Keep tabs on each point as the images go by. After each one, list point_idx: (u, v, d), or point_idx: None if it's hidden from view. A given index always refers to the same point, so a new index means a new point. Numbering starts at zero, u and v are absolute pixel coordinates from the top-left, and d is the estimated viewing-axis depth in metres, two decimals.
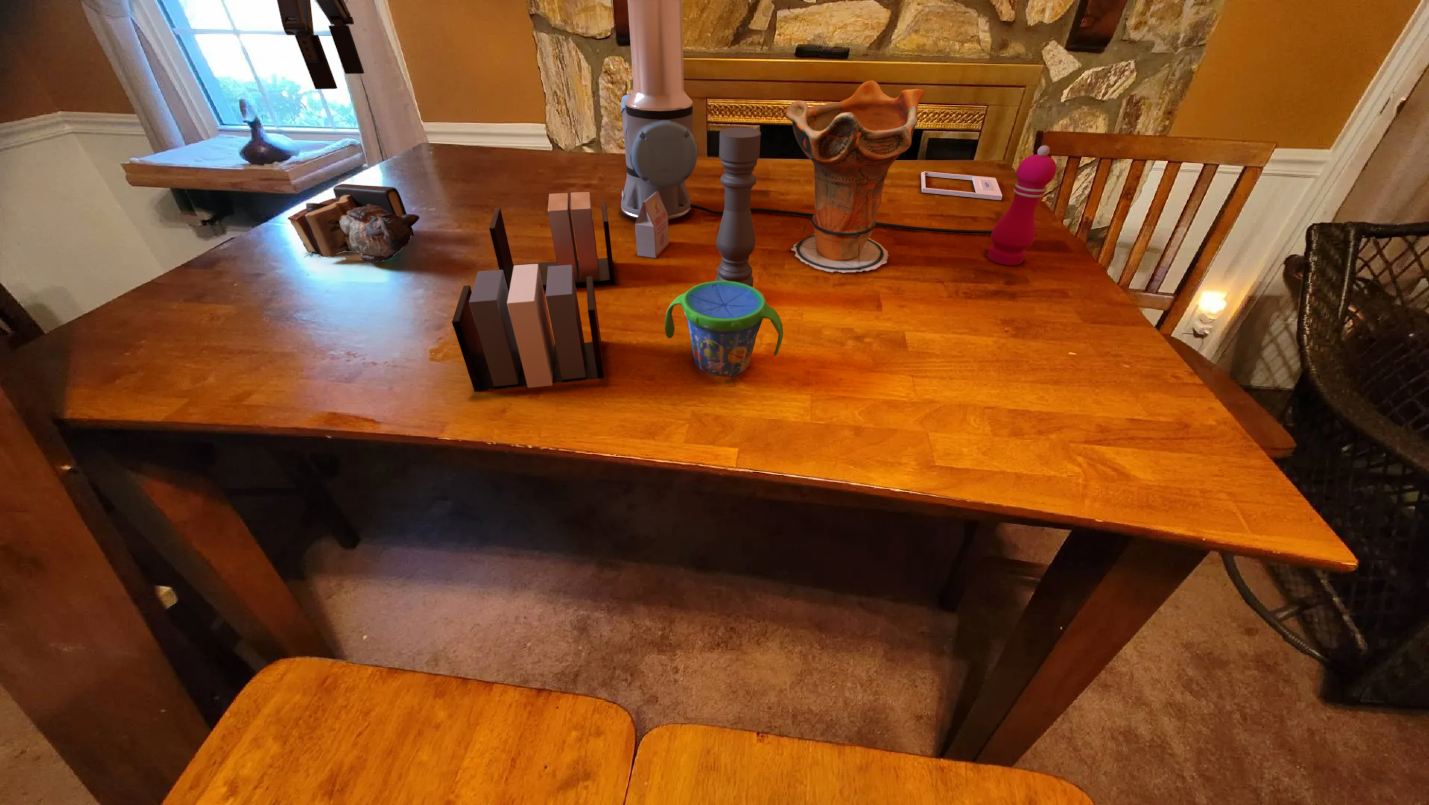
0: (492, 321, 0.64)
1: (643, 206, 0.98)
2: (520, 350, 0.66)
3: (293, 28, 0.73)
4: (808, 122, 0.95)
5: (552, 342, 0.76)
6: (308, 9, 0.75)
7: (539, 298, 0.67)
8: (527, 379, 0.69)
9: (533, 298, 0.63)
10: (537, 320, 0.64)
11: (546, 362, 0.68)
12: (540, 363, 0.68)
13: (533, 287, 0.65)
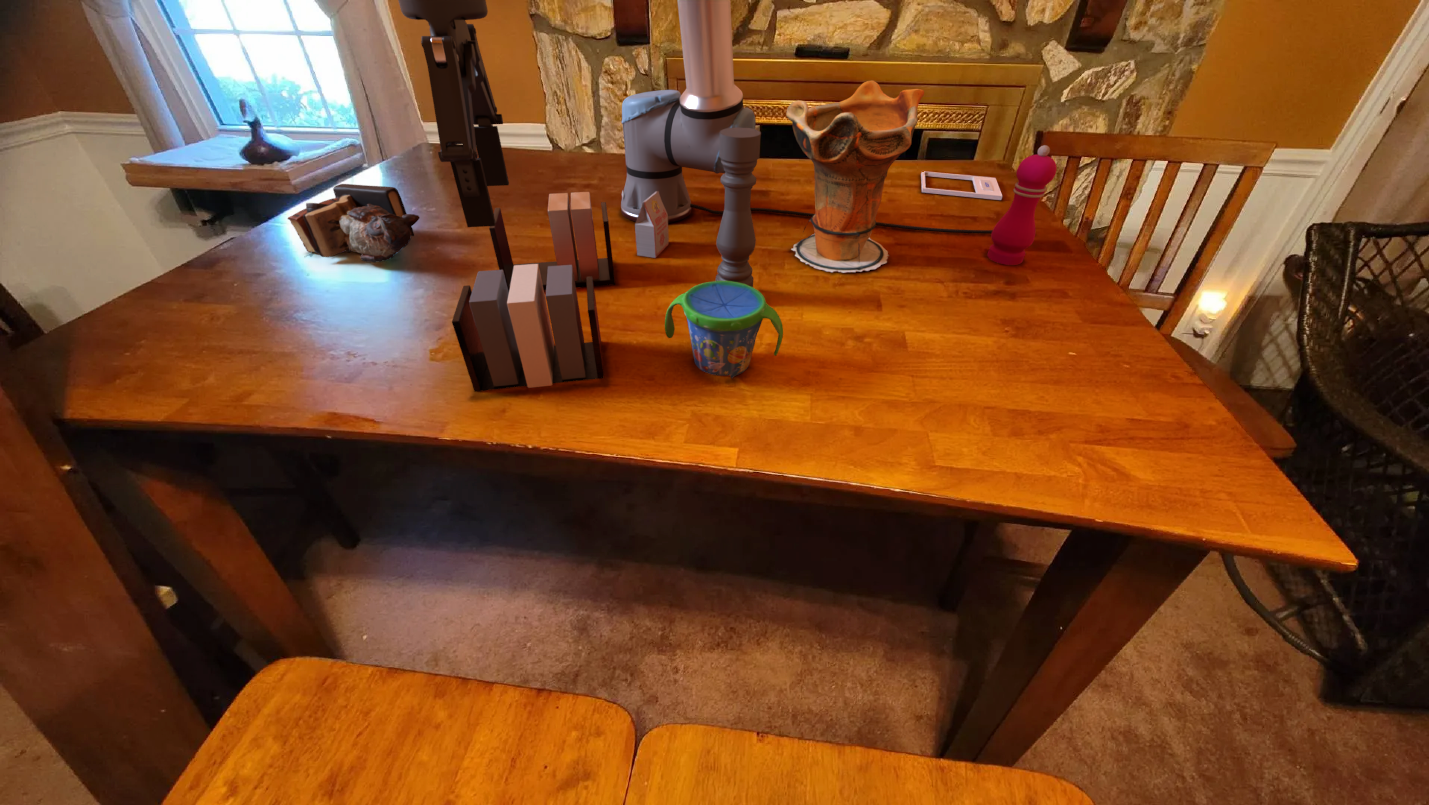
0: (492, 321, 0.64)
1: (643, 206, 0.98)
2: (520, 350, 0.66)
3: (455, 157, 0.50)
4: (808, 122, 0.95)
5: (552, 342, 0.76)
6: (471, 125, 0.52)
7: (539, 298, 0.67)
8: (527, 379, 0.69)
9: (533, 298, 0.63)
10: (537, 320, 0.64)
11: (546, 362, 0.68)
12: (540, 363, 0.68)
13: (533, 287, 0.65)
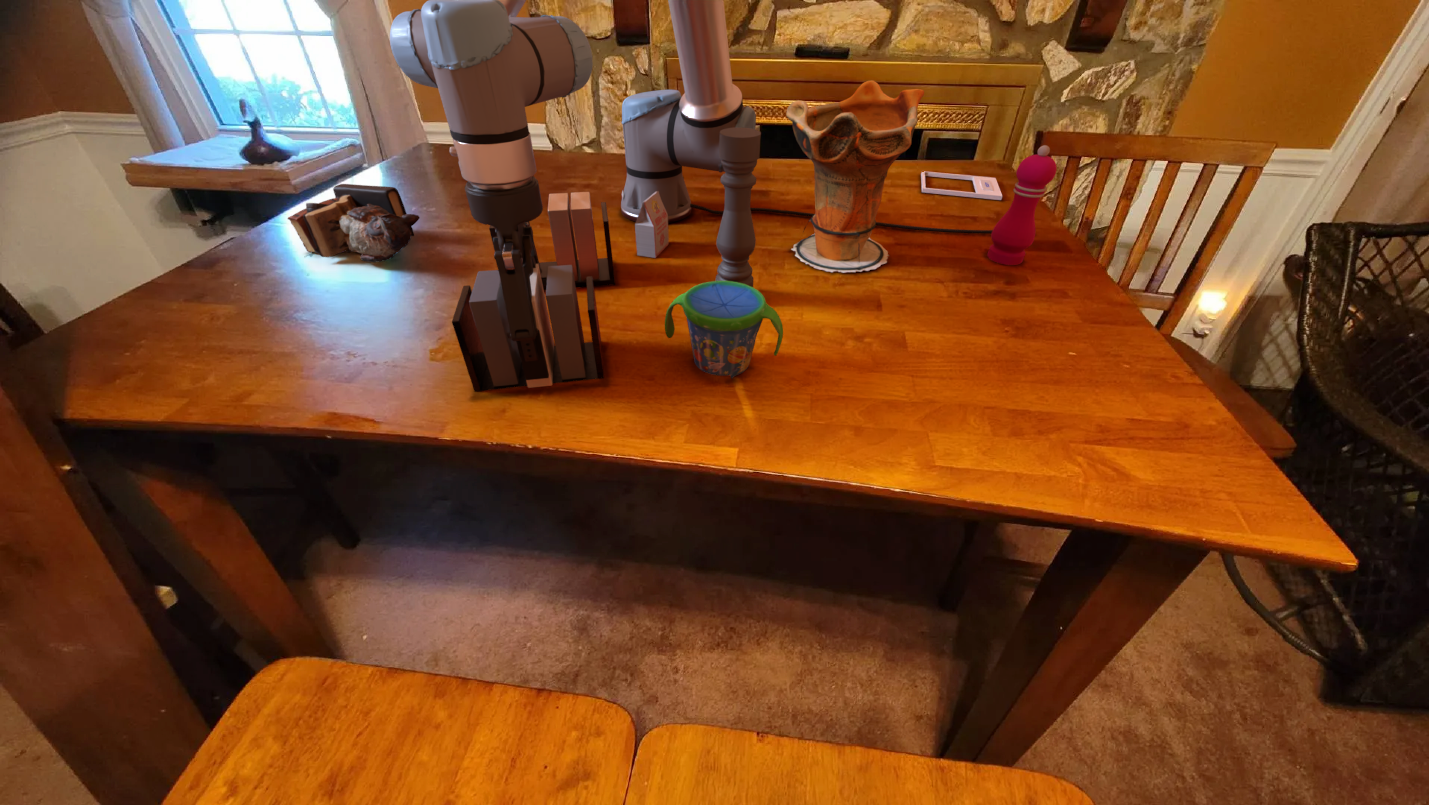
0: (492, 321, 0.64)
1: (643, 206, 0.98)
2: None
3: (522, 339, 0.61)
4: (808, 122, 0.95)
5: (552, 342, 0.76)
6: (532, 307, 0.63)
7: (539, 298, 0.67)
8: None
9: (533, 298, 0.63)
10: (537, 320, 0.64)
11: (546, 362, 0.68)
12: None
13: (533, 287, 0.65)
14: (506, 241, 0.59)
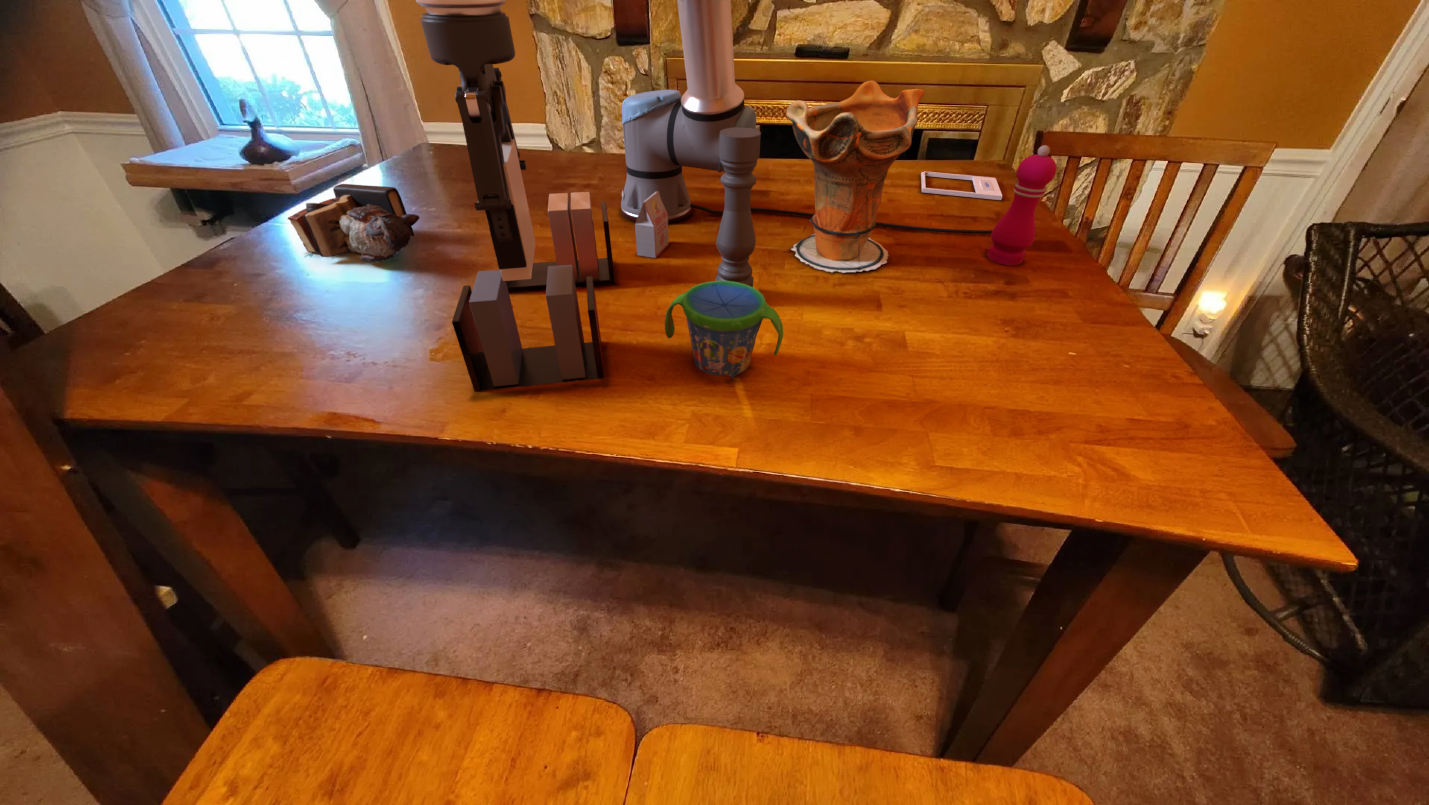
0: (492, 321, 0.64)
1: (643, 206, 0.98)
2: None
3: (492, 207, 0.52)
4: (808, 122, 0.95)
5: (533, 238, 0.67)
6: (504, 174, 0.54)
7: (514, 173, 0.58)
8: (502, 269, 0.60)
9: (505, 164, 0.54)
10: (511, 192, 0.55)
11: (523, 248, 0.59)
12: None
13: (506, 155, 0.56)
14: (470, 85, 0.50)
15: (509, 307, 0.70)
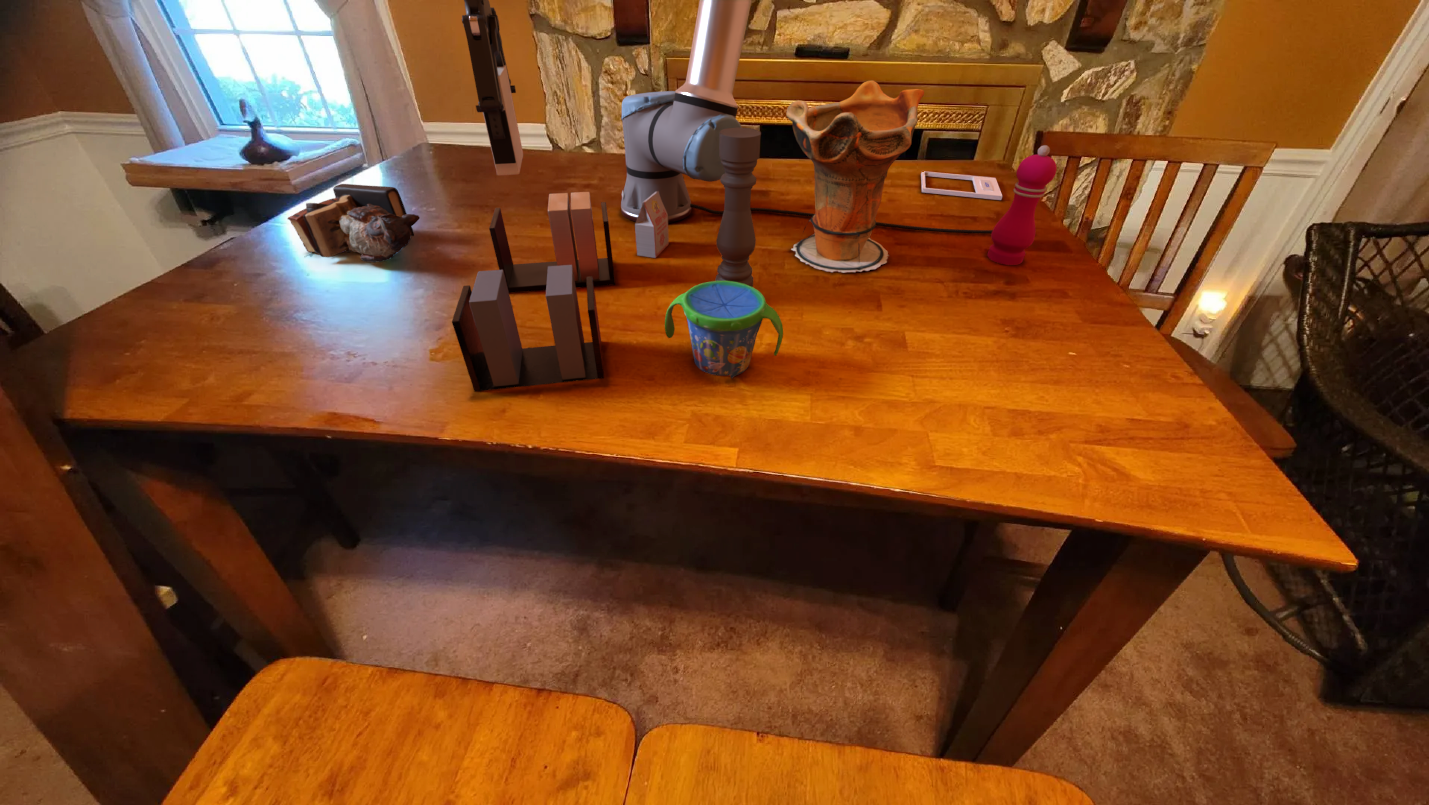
0: (492, 321, 0.64)
1: (643, 206, 0.98)
2: None
3: (489, 107, 0.69)
4: (808, 122, 0.95)
5: (521, 149, 0.84)
6: (498, 84, 0.71)
7: (506, 88, 0.75)
8: (496, 164, 0.77)
9: (498, 76, 0.71)
10: (503, 99, 0.72)
11: (513, 147, 0.76)
12: None
13: (499, 72, 0.73)
14: (473, 13, 0.67)
15: (509, 307, 0.70)
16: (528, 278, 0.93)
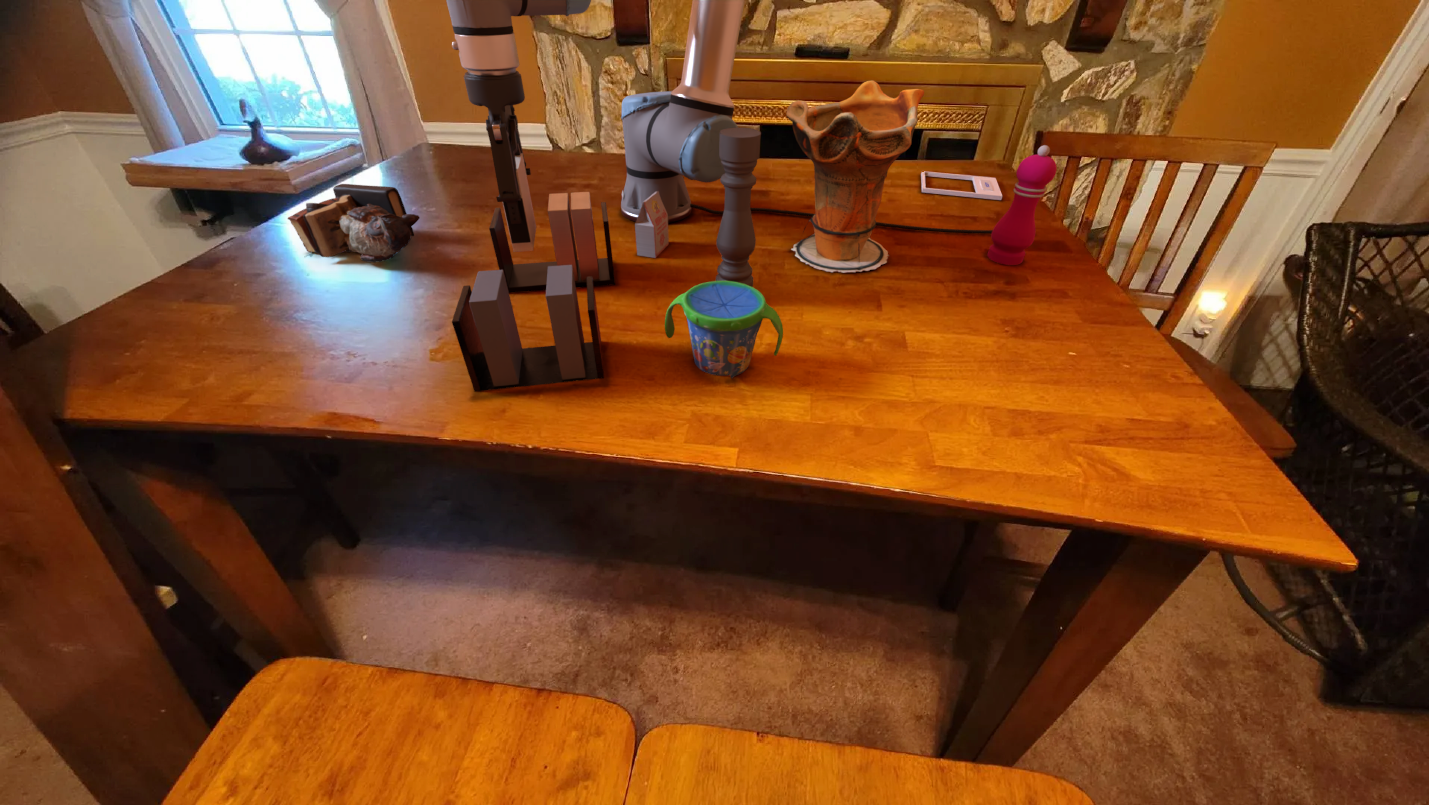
0: (492, 321, 0.64)
1: (643, 206, 0.98)
2: None
3: (508, 199, 0.78)
4: (808, 122, 0.95)
5: (534, 223, 0.93)
6: (516, 177, 0.80)
7: (522, 177, 0.84)
8: (513, 243, 0.86)
9: (517, 170, 0.80)
10: (520, 189, 0.81)
11: (528, 228, 0.85)
12: None
13: (517, 164, 0.82)
14: (495, 119, 0.76)
15: (509, 307, 0.70)
16: (528, 278, 0.93)
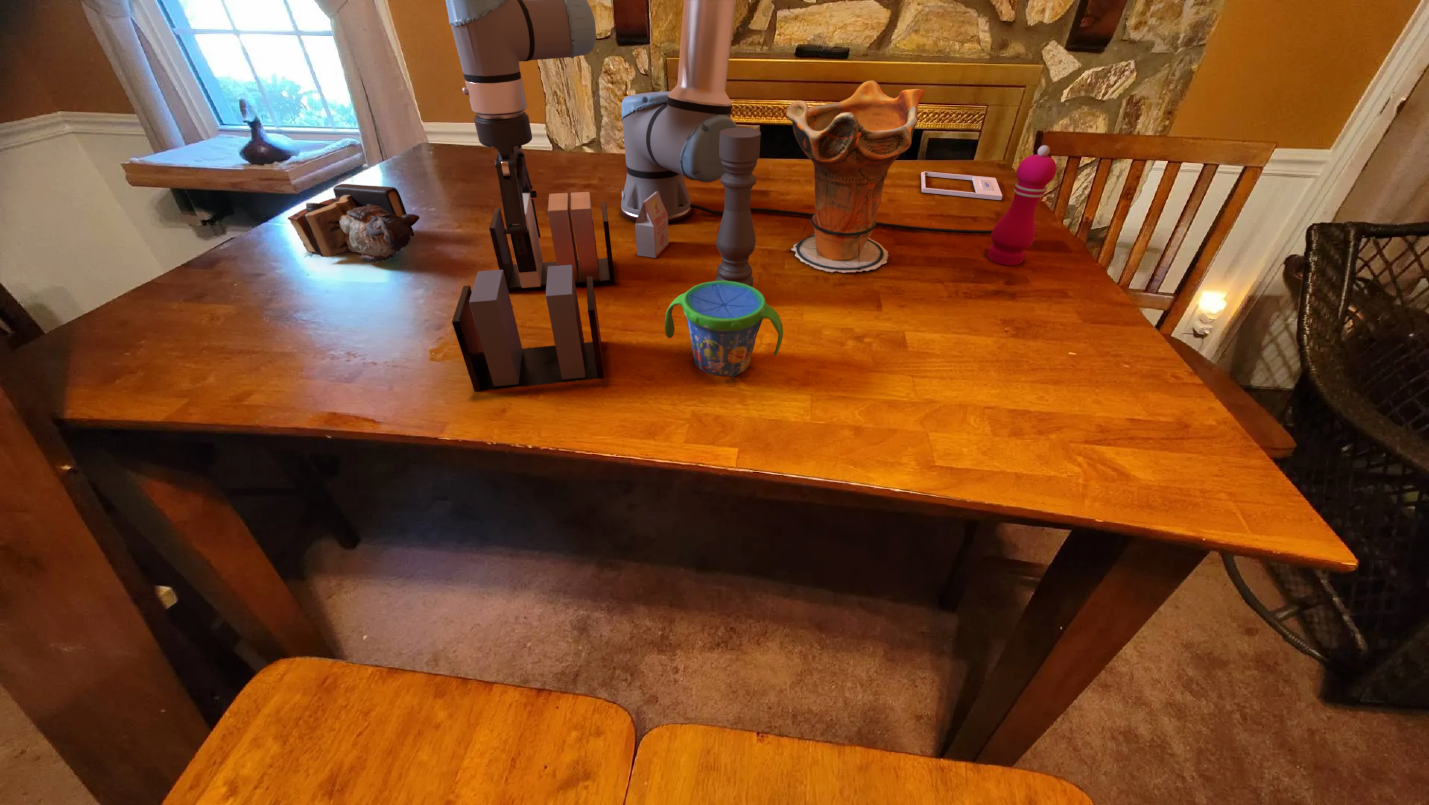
0: (492, 321, 0.64)
1: (643, 206, 0.98)
2: None
3: (515, 232, 0.80)
4: (808, 122, 0.95)
5: (541, 258, 0.96)
6: (523, 210, 0.82)
7: (530, 217, 0.88)
8: (521, 280, 0.90)
9: (525, 212, 0.84)
10: None
11: None
12: None
13: (525, 206, 0.86)
14: (504, 158, 0.79)
15: (509, 307, 0.70)
16: None
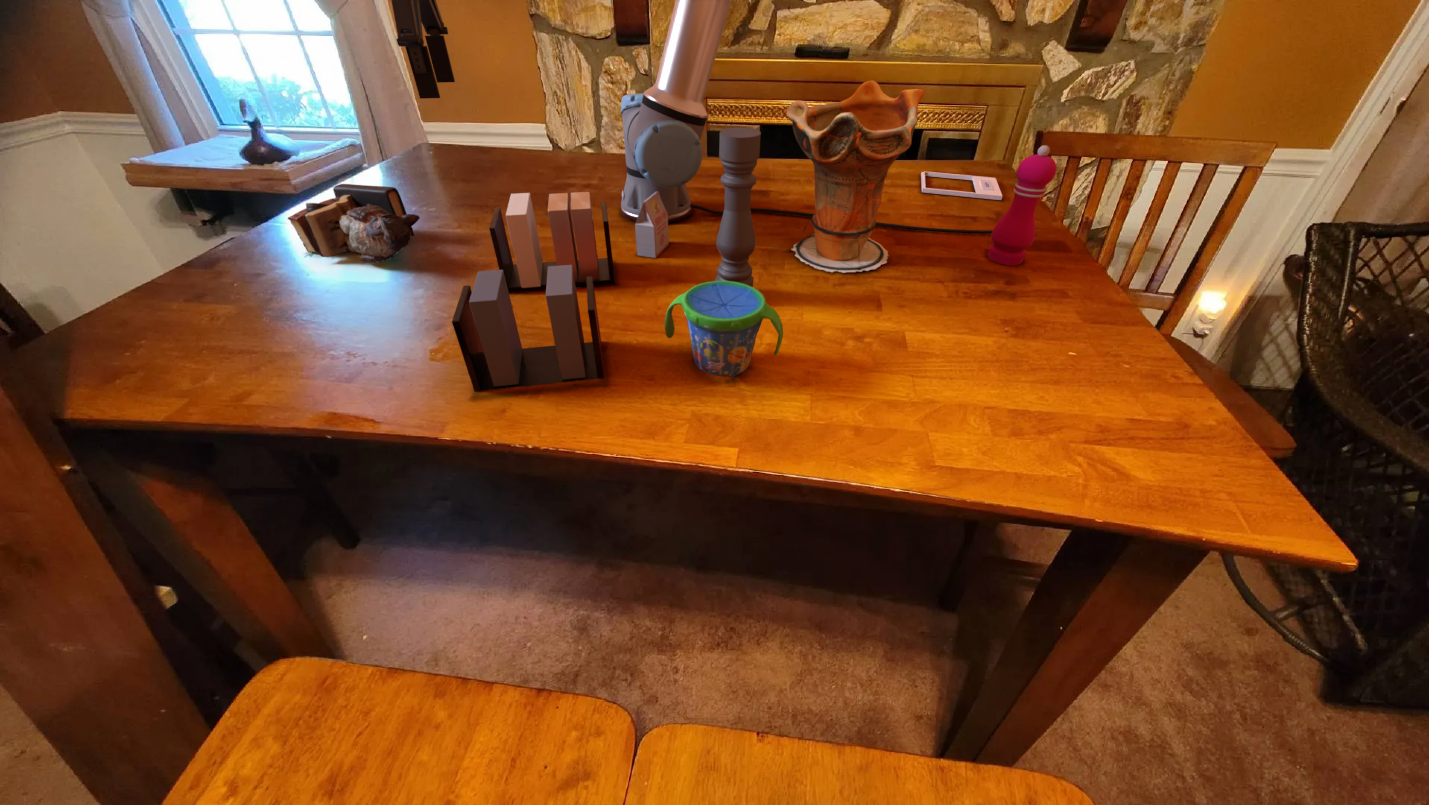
0: (492, 321, 0.64)
1: (643, 206, 0.98)
2: (515, 255, 0.87)
3: (408, 40, 0.75)
4: (808, 122, 0.95)
5: (541, 258, 0.96)
6: (419, 21, 0.77)
7: (530, 217, 0.88)
8: (521, 280, 0.90)
9: (525, 212, 0.84)
10: (528, 230, 0.85)
11: (535, 266, 0.89)
12: (531, 267, 0.89)
13: (525, 206, 0.86)
14: None
15: (509, 307, 0.70)
16: None
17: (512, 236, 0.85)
